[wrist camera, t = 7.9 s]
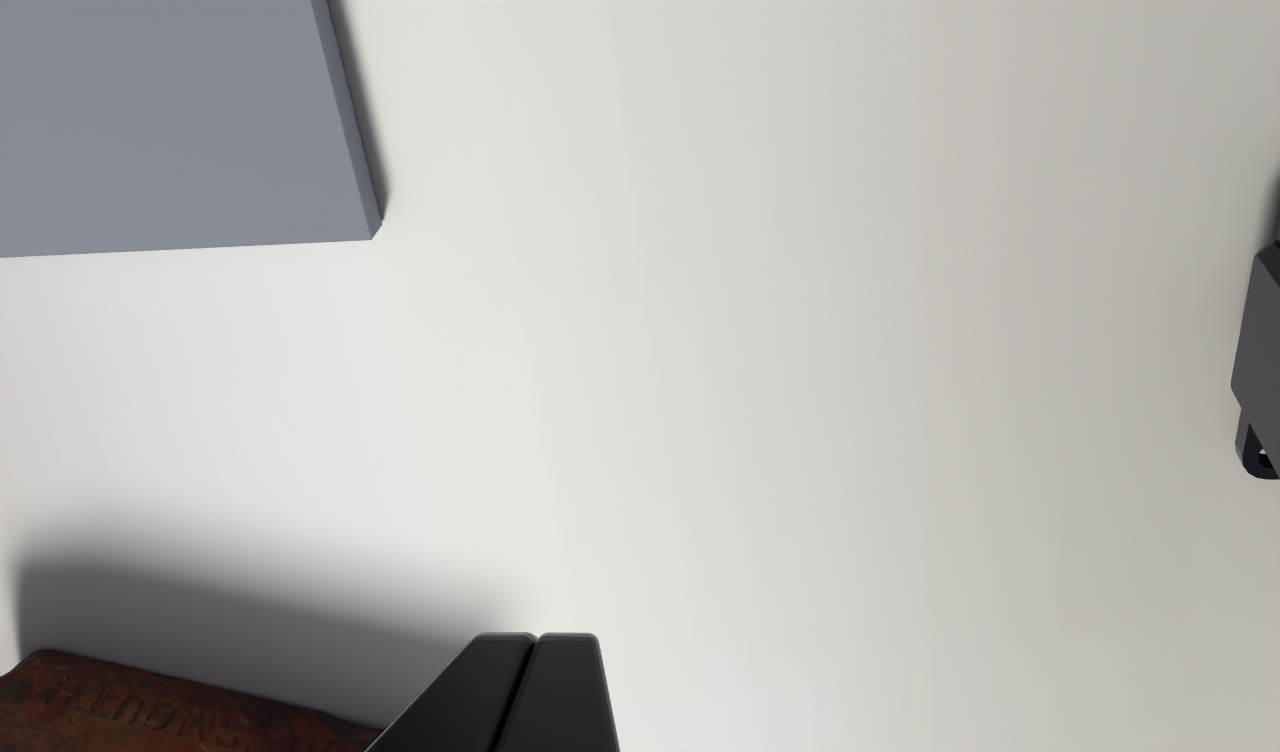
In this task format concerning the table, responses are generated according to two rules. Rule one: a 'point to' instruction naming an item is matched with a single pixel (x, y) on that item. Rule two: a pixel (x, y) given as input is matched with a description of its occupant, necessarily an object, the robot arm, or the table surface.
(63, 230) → the mat
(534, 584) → the table surface
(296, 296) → the table surface
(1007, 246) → the table surface
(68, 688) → the brick
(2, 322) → the table surface
